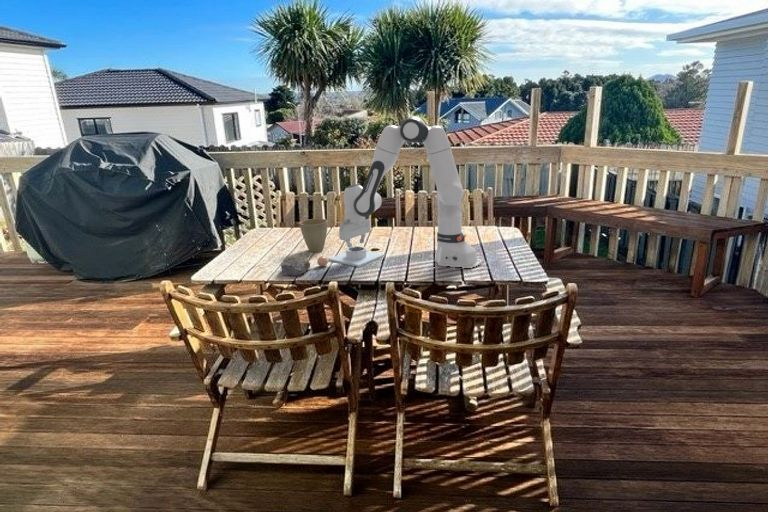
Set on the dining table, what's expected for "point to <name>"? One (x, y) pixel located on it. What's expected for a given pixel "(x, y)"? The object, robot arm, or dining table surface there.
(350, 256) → the ring plate
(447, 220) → the robot arm
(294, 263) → the rock
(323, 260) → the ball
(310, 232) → the plant pot
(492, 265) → the dining table surface
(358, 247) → the steel ball
